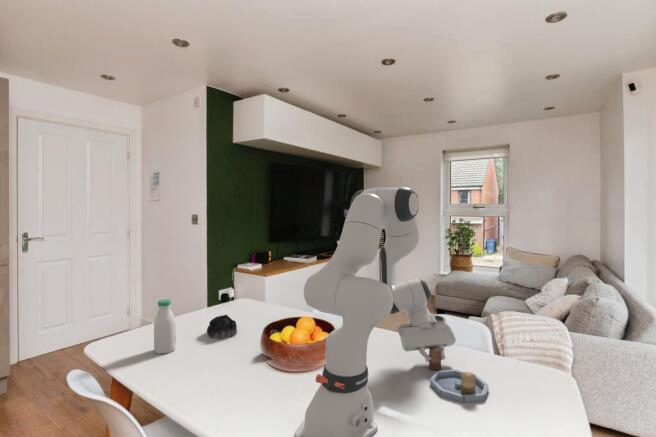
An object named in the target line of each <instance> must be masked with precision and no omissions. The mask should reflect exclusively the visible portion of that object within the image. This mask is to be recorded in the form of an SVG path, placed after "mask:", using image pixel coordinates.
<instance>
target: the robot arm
mask: <svg viewBox="0 0 656 437" xmlns="http://www.w3.org/2000/svg"><path fill="white" fill-rule="evenodd" d="M418 213H419V197H418V194H417V193H416V192H415V190H413V189H412V188H410V187H405V186H401V187H384V186H382V187H372V188H365V189H360V190H357V191H356V192H355V193H354V194H353V195H352V197H351V200H350V207H349V208H348V212H347V214H346V217H345V220H344V224H343V227H342V232H341V234H340V237H339V241H338V244H337V247H336V249H335V251H334V253H333V254H332V256H331V257H330V259H329V260H328V262H327V263H326V264H325V265H324V266H323V267H322V268H321V269H319V270H318V271H316V272H315V273H313V274H311V275H310V276H309V277H308V278H307V280H306V282H305V284H304V286H303V287H304V288H303V298H304V301H305V302H306V305H308V306H309V307H310V308H312V309H314V310H317V311H319V312H321V313H325V314H330V315H334V316H339V317H342V326H340V327H338V328H336V329H333V330H332V331H331V332H330V333H329V334H328V335H327V337H326V339H325V363H324V365H323V370H322V372H321V374H322V375H321V374H320V373H318V374H316V376H315V382H316V383H318V384H320V385H319V387H318V389H317V390H316V392H315V394H314V395H313V397H312V399H311V401H310V403H309V404H308V406H307V407H306V410H305V413H304V420H303V421H302V422H301V423H300V425H299V426H298V427H297V428H296V430H295V432H294V437H370V436H372V435H373V434H374V433H376V432H377V431H378V430H379V428H378V424H377V422H376V421H375V420H374V407H373V396H372V393H371V391H370V389H369V386H368V383H369V370H368V369H369V368H368V366H367V354H368V344H369V338H370V335H371V333H372V331H374V330H373V329H374V328H375V327H376V326H377V325H379V323H382V322H383V321H384V320H386V319H387V318H388V316H389V315H394V314H397V313H400V312H402V311H404V312H405V313H406V314H405V315H406V320H407V322H408V324H400V325H399V326H398V327H397V332H398V336H400V342H401V347H402V349H403V351H405V352H412V351H413V352H414V351H418V352H419V354H420V355H421V356H422V357H423V358H424V359H425V362H426V363H427V362H428V363H429V361H431V360H432V358H431V356H430V355H429V353H427V352H426V350H428V349H429V348H430V347H438V348H440V349H441V361H442V360H445V359H446V355H445V347H446V348H447V347H452V346H453V345H454V344H456V342H457V341H456V340H457V338H456V336H455V334H454V332H453V330H452V329H451V327H450V325H449V324H448V323H447V319H446V318H445V316H442V315H439V314H438V315H437V314H434V313H431V312H430V310H429V308H428V307H427V305H428V304H429V303H430V301H431V299H432V294H431V291H430V288H429V286H428V283H427V282H426V281H425V280H422V279H421V278H414V279H410V280H407V281H403V282H400V283H396V284H393V268H394V266H395V265H396V264H398V262H400V261H401V260H403V258H406V257H407V256H408V255H409V256H410V254H411V253H412V252H413V251H415V250H416V247H417V246H418V244H419V240H420V238H419V237H420V236H419V229H418V223H417V220H416V216H417V214H418ZM383 227H384V233H385V241H384V244H383V246H382V247H381V248H380V249H379V246H380V241H381V238H382V232H383ZM378 251H379V257H378V260H379V261H378V262H379V264H378V265H379V266H378V267H379V280H376V279H374V278H372V277H365V276H364V277H363V276H356V274H357V273H358V272H359V271H360V270H361V269H362V268H364V267H366V266H369V265H371V264H372V263H373V262H374V261H375V260H376V258H377V255H378Z"/></svg>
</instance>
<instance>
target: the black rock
mask: <svg viewBox="0 0 656 437" xmlns="http://www.w3.org/2000/svg"><path fill="white" fill-rule="evenodd" d="M237 326H238V324H237V321H236V320H235V319H232V318H231V317H230V316H229V315H228V314H224V315H219V316H215V317H214V318H212V319H211V320H209V325H208V326H207V328H206V334H207V335H208V336H209V337H210V338H213V339H215V340H216V339H217V340H219V339H220V340H221V339H225V338H226V339H227V338H229V337H232V336H234V335H237V334H238V329H237V328H238V327H237Z"/></svg>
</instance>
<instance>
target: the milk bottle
mask: <svg viewBox="0 0 656 437" xmlns="http://www.w3.org/2000/svg"><path fill="white" fill-rule="evenodd" d="M171 305H172V301H171V299H161V300H158V301H157V308H158V310H157V313H156V316H155V318H154V321H153V351H154V353H155V354H156V355H157V354H158V355H164V354H165V355H166V354H169V353H172V352H174V351H175V349H176V346H177V344H176V343H177V342H176V318H175V315H174V313H173V311H172V309H171Z"/></svg>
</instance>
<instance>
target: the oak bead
mask: <svg viewBox="0 0 656 437" xmlns="http://www.w3.org/2000/svg"><path fill="white" fill-rule="evenodd" d="M476 376H477V375H476V374H475V373H473V372H470V371H463V372H462V373H461V394H462V395H470V394H475V386H476Z"/></svg>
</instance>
